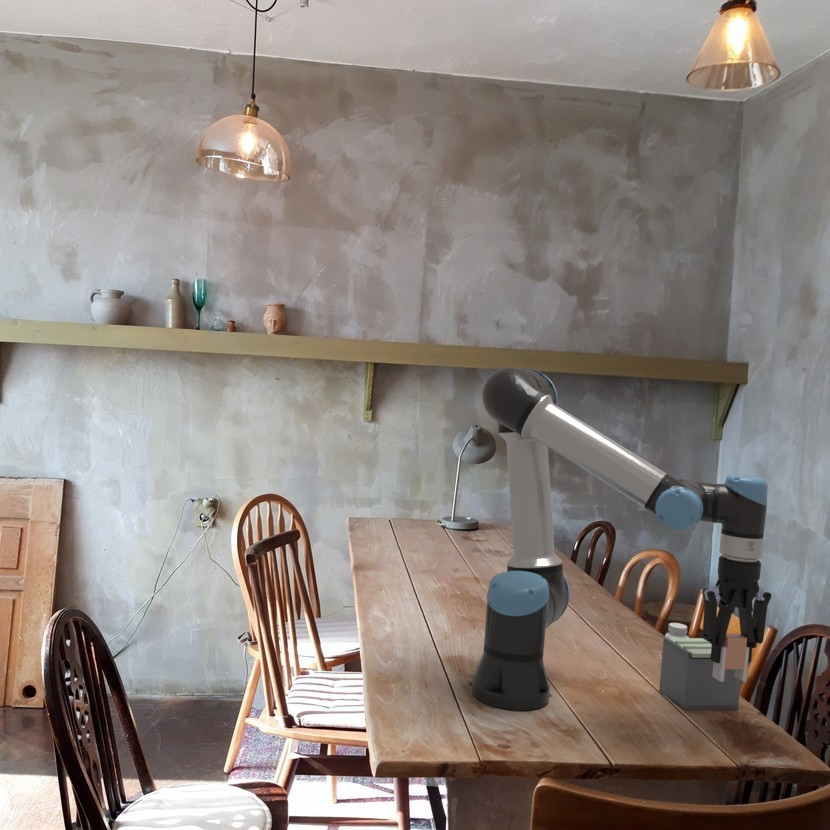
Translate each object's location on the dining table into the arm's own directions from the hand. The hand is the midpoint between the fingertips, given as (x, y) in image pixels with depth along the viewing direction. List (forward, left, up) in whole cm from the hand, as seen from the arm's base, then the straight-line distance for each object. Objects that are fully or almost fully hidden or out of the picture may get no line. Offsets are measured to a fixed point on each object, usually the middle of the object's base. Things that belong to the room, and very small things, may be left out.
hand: (729, 678), depth 158 cm
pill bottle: (+5, +28, -8) cm, 29 cm away
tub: (0, +10, -8) cm, 13 cm away
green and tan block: (0, +6, +2) cm, 7 cm away
